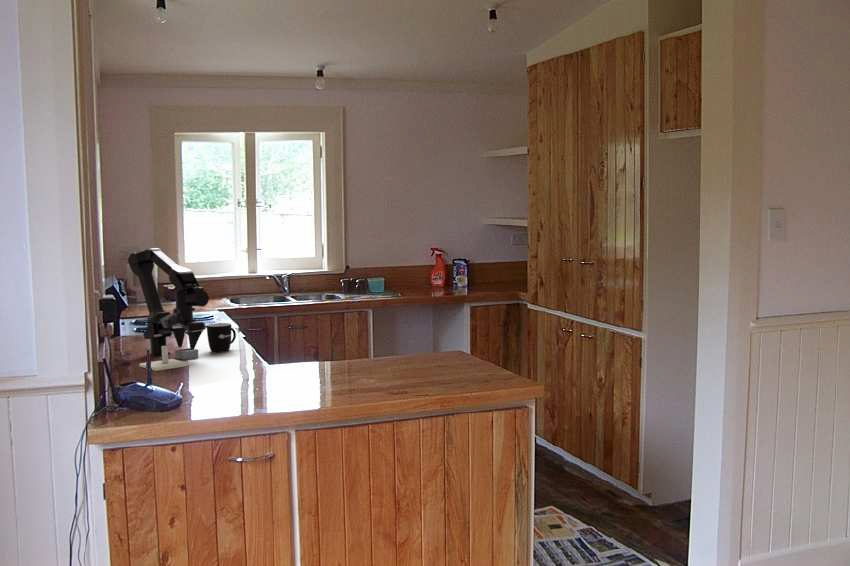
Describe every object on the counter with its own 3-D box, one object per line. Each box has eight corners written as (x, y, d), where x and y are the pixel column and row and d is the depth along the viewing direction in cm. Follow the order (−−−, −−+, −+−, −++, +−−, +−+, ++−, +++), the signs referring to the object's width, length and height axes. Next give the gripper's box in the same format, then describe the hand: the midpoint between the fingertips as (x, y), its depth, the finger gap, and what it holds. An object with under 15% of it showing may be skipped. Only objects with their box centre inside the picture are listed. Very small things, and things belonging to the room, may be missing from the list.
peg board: (139, 366, 280) (138, 346, 279) (172, 361, 288) (171, 341, 287) (155, 370, 271) (154, 350, 270) (188, 365, 279) (187, 345, 279)
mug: (218, 354, 302) (217, 326, 301) (202, 352, 307) (201, 325, 307) (243, 349, 312) (242, 323, 311) (228, 347, 317) (227, 321, 316)
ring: (175, 358, 295) (174, 349, 295) (190, 355, 299) (190, 347, 299) (183, 360, 291) (182, 351, 290) (198, 357, 295) (198, 349, 295)
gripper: (151, 305, 295) (153, 348, 296) (175, 309, 281) (177, 354, 282) (179, 302, 302) (181, 344, 304) (204, 306, 289) (206, 350, 290)
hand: (186, 348), depth 295 cm, fingers open, 9 cm apart
